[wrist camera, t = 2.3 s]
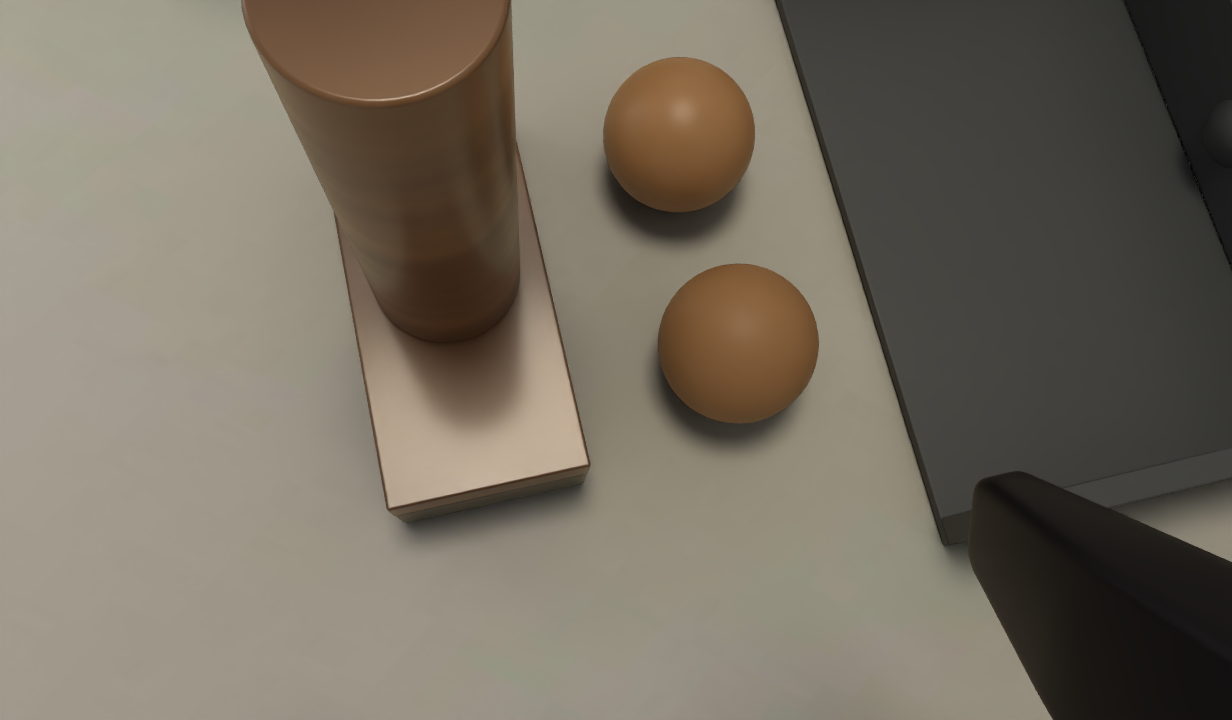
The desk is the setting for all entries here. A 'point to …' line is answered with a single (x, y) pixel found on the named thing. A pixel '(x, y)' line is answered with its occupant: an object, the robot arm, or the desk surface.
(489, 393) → the scrub brush
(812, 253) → the desk surface
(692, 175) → the brown ball
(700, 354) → the orange-brown sphere
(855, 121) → the dustpan
